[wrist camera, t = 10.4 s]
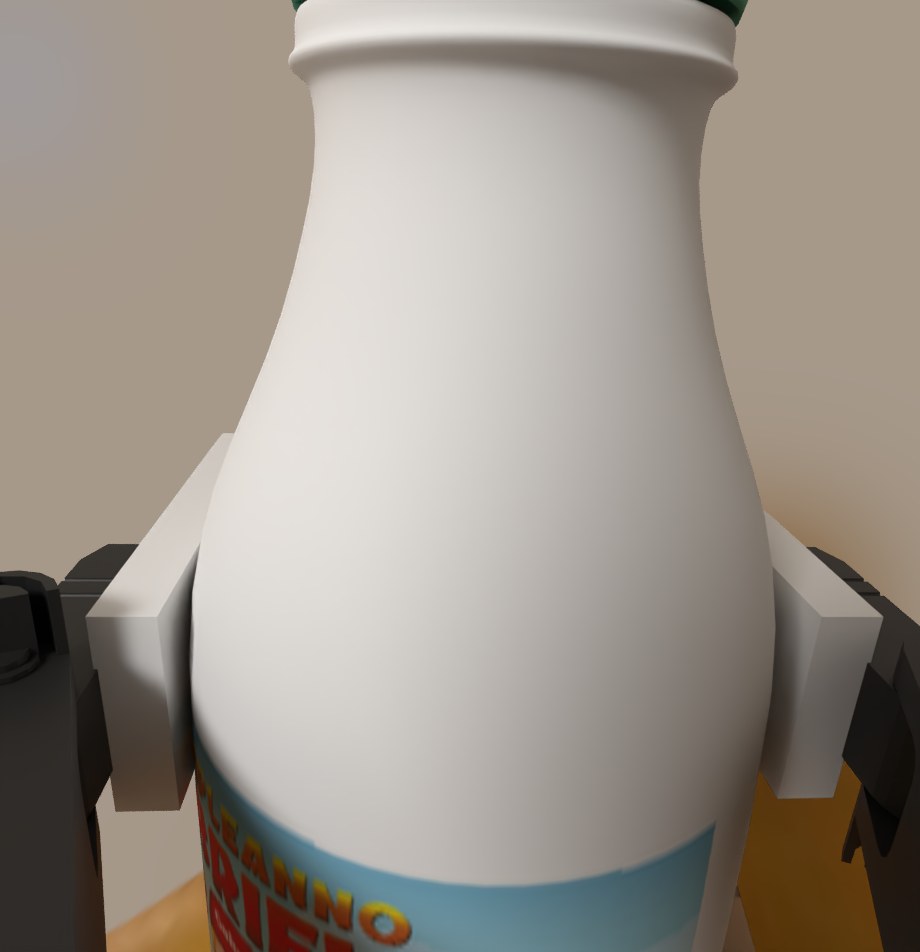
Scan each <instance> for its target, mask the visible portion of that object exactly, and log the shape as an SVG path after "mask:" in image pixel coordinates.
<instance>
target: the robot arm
mask: <svg viewBox="0 0 920 952" xmlns="http://www.w3.org/2000/svg"><path fill="white" fill-rule="evenodd" d="M233 436H234V434H232V433H230V434H228V433H222V435H221V436H220V437H219V439H218V440H217V441H216V443H215V444H214V445H213V447H212V448H211V449H210V451H209V452H208V453H207V455H206V456H205V458H204V459H203V460H202V461H201V463H200V464H199V465H198V467H197V468H196V469H195V471H194V472H193V473H192V475H191V476H190V477H189V479H188V480H187V482H186V483H185V484H184V485H183V487H182V488H181V490H180V491H179V492H178V493H177V495H176V496H175V497H174V499H173V500H172V502H171V503H170V504H169V506H168V507H167V508H166V510H165V511H164V512H163V514H162V515H161V516H160V518H159V519H158V520H157V522H156V523H155V524H154V526H153V527H152V528H151V530H150V531H149V532H148V534H147V535H146V536H145V538H144V539H143V541H142V542H141V543H140V544H108V545H106V546H104V547H102V548H100V549H99V550H97V551H95V552H93V553H91V554H90V555H88V556H86V557H84V558H83V559H81V560H80V561H79V562H78V563H77V564H76V566H75V567H74V568H73V569H72V570H71V571H70V572H69V573H68V575H67V576H66V577H65V581H62V582H61V583H60V584H59V585H57V584H56V582H55V580H54V579H53V578H50V577H48V576H46V575H44V574H42V573H36V572H28V571H7V572H0V952H107V951H106V933H105V915H104V897H103V879H102V861H101V843H100V830H99V824H98V818H97V812H96V806H95V805H96V803H97V801H98V798H99V797H100V795H101V793H102V791H103V789H104V786H105V785H106V783H107V781H108V779H109V777H110V778H111V785H112V791H113V798H114V804H115V811H116V812H122V811H174V810H180V808H181V805H182V803H183V800H184V797H185V794H186V792H187V789H188V786H189V783H190V780H191V778H192V775H193V772H194V770H195V762H194V743H193V724H192V704H191V685H190V663H189V648H190V630H191V611H192V592H193V586H194V580H195V574H196V567H197V561H198V555H199V549H200V543H201V537H202V531H203V527H204V523H205V520H206V516H207V512H208V508H209V505H210V501H211V497H212V493H213V490H214V486H215V484H216V481H217V478H218V475H219V473H220V470H221V467H222V465H223V462H224V459H225V457H226V454H227V451H228V449H229V446H230V443H231V441H232V438H233ZM763 512H764V516H765V521H766V528H767V534H768V541H769V547H770V554H771V560H772V569H773V586H774V606H775V626H776V630H775V646H774V663H773V679H772V693H771V700H770V708H769V714H768V720H767V726H766V731H765V737H764V743H763V749H762V755H761V761H760V767H759V769H760V771H761V773H762V774H763V776H764V778H765V779H766V781H767V783H768V784H769V786H770V787H771V789H772V791H773V792H774V794H775V796H776V797H777V799H790V798H833V796H834V793H835V789H836V786H837V782H838V779H839V775H840V771H841V768H842V764H843V761H844V760H845V762H846V763H847V764H848V765H849V767H850V768H851V769H852V771H853V772H854V773H855V775H856V776H857V777H858V778H859V780H860V781H861V782H862V784H861V788H860V791H859V794H858V798H857V801H856V805H855V808H854V811H853V815H852V818H851V822H850V825H849V828H848V832H847V835H846V839H845V842H844V846H843V850H842V859H841V861H843V862H847V863H851V861H852V858H853V855H854V851H855V849H857V848H858V847H860V846H861V847H862V851H863V856H864V861H865V867H866V870H867V875H868V880H869V884H870V889H871V894H872V898H873V903H874V908H875V912H876V917H877V922H878V927H879V931H880V936H881V941H882V945H883V950H884V952H920V626H919V625H918V624H917V623H915V622H914V621H913V620H912V619H911V618H909V617H908V616H907V615H906V614H905V613H903V612H902V611H901V610H900V609H899V608H898V607H897V606H895V605H894V604H893V603H892V602H890V600H888V599H887V598H886V597H885V596H880V592H879V591H878V590H877V589H875V588H874V587H873V586H872V585H871V584H869V583H868V582H864V579H863V578H862V577H861V576H860V575H859V574H858V573H856V572H855V571H854V570H853V569H852V568H851V567H850V566H848V565H847V564H846V563H845V562H843V561H841V560H840V559H837V558H835V557H834V556H832V555H830V554H828V553H826V552H824V551H822V550H819V549H818V548H816V547H805V546H804V545H803V544H801V543H800V542H799V541H798V540H797V539H796V538H795V537H794V536H792V535H791V534H790V533H789V532H788V531H787V530H786V529H785V528H784V527H782V526H781V525H780V524H779V523H778V522H777V521H776V520H775V519H774V518H772V517H771V516H770V515H769V514H768V513H767V512H766V511H764V510H763Z"/></svg>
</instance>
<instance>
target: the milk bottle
mask: <svg viewBox="0 0 920 952" xmlns="http://www.w3.org/2000/svg"><path fill="white" fill-rule="evenodd" d="M747 2H748V0H292V3H293V7H294V9H295V10H296V12H297V14H296V18H295V49H294V51H293V52H292V53H291V54H290V56H289V60H288V63H289V66H290V69H291V70H292V71H293V73H295V74H296V75H297V76H298V77H299V78H300V79H301V80H303V81H304V82H305V83H306V84H307V86H308V88H309V90H310V92H311V96H312V102H313V108H314V119H315V154H314V170H313V177H312V184H311V192H310V198H309V204H308V208H307V213H306V219H305V223H304V228H303V233H302V237H301V241H300V246H299V250H298V254H297V258H296V263H295V267H294V271H293V275H292V278H291V282H290V286H289V289H288V292H287V296H286V299H285V303H284V307H283V310H282V314H281V317H280V319H279V322H278V325H277V328H276V331H275V333H274V336H273V339H272V342H271V345H270V348H269V351H268V353H267V356H266V359H265V361H264V364H263V366H262V369H261V371H260V373H259V376H258V378H257V381H256V383H255V386H254V388H253V391H252V393H251V396H250V398H249V401H248V403H247V406H246V408H245V410H244V412H243V415H242V417H241V420H240V422H239V424H238V427H237V429H236V431H235V434H234V436H233V438H232V441H231V443H230V446H229V449H228V451H227V454H226V457H225V459H224V462H223V465H222V467H221V470H220V473H219V475H218V478H217V481H216V484H215V486H214V490H213V493H212V497H211V501H210V505H209V508H208V512H207V516H206V520H205V523H204V527H203V531H202V537H201V543H200V549H199V555H198V561H197V567H196V574H195V580H194V586H193V592H192V611H191V630H190V648H189V663H190V685H191V704H192V724H193V743H194V762H195V780H196V781H195V782H196V794H197V805H198V816H199V826H200V838H201V846H202V847H201V848H202V859H203V870H204V880H205V891H206V902H207V912H208V923H209V934H210V944H211V952H722V951H723V946H724V941H725V937H726V932H727V927H728V923H729V918H730V914H731V909H732V904H733V900H734V895H735V890H736V886H737V881H738V876H739V872H740V867H741V863H742V858H743V853H744V849H745V844H746V839H747V835H748V830H749V825H750V819H751V813H752V808H753V802H754V796H755V790H756V784H757V778H758V772H759V767H760V761H761V755H762V749H763V743H764V737H765V731H766V726H767V720H768V714H769V708H770V700H771V693H772V679H773V663H774V646H775V630H776V626H775V606H774V586H773V569H772V560H771V554H770V547H769V541H768V534H767V528H766V521H765V516H764V512H763V508H762V504H761V500H760V496H759V493H758V489H757V485H756V481H755V477H754V473H753V469H752V466H751V463H750V459H749V456H748V453H747V450H746V446H745V443H744V440H743V436H742V433H741V430H740V426H739V423H738V419H737V416H736V413H735V409H734V406H733V402H732V399H731V395H730V392H729V388H728V385H727V381H726V377H725V373H724V369H723V365H722V361H721V356H720V352H719V348H718V344H717V340H716V335H715V329H714V323H713V317H712V311H711V305H710V299H709V294H708V287H707V278H706V270H705V261H704V254H703V243H702V232H701V220H700V199H699V198H700V196H699V178H700V163H701V152H702V145H703V139H704V133H705V127H706V124H707V120H708V116H709V113H710V110H711V108H712V106H713V104H714V102H715V101H716V100H717V99H718V98H719V97H721V96H722V95H724V94H725V93H727V92H728V91H729V90H731V89H732V88H733V87H734V86H735V84H736V83H737V81H738V72H737V70H736V69H735V68H734V65H733V55H734V49H735V41H736V31H735V27H736V26H737V25H738V24H739V21H740V19H741V17H742V14H743V12H744V9H745V7H746V4H747Z"/></svg>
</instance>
